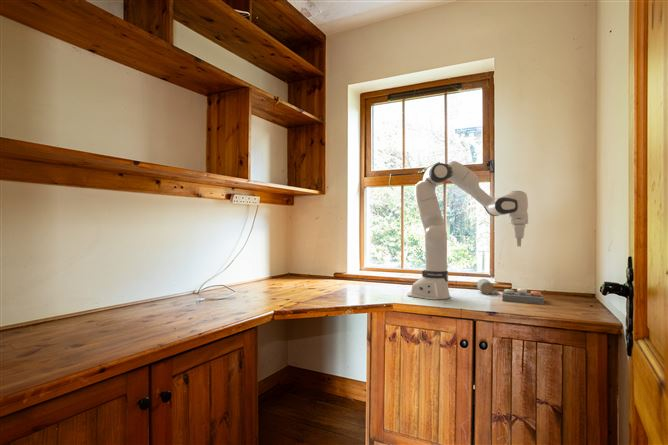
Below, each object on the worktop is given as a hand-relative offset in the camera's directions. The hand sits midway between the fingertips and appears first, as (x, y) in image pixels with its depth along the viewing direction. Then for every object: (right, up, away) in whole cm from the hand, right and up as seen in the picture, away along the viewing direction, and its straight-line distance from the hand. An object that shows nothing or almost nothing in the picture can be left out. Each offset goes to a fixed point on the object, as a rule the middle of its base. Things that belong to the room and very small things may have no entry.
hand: (519, 246), depth 184 cm
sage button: (-9, -27, -7) cm, 29 cm away
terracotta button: (+2, -26, -12) cm, 29 cm away
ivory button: (-4, -25, -10) cm, 27 cm away
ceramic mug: (-13, -28, +9) cm, 32 cm away
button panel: (-4, -27, -10) cm, 29 cm away
